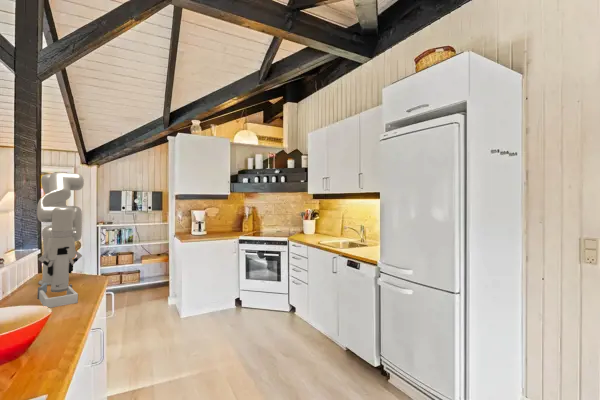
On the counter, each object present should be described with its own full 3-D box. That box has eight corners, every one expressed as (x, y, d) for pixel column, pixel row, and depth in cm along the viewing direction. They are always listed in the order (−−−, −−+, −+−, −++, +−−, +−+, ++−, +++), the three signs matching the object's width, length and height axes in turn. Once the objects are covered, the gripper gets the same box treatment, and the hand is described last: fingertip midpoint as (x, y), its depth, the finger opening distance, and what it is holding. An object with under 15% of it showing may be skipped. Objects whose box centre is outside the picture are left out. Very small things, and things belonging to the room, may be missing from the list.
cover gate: (36, 299, 140) (37, 288, 140) (43, 292, 149) (44, 281, 149) (40, 298, 140) (41, 287, 140) (47, 292, 150) (47, 281, 150)
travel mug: (59, 293, 133) (61, 247, 133) (46, 291, 134) (49, 246, 134) (72, 289, 139) (74, 246, 139) (60, 288, 140) (62, 245, 140)
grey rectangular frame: (38, 298, 141) (38, 288, 141) (71, 292, 150) (71, 284, 150) (45, 308, 128) (45, 298, 128) (80, 302, 138) (80, 292, 138)
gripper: (82, 232, 146) (81, 269, 145) (35, 234, 133) (33, 275, 133) (86, 234, 141) (85, 272, 140) (38, 236, 128) (36, 278, 128)
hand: (60, 273), depth 137 cm, fingers closed on travel mug, 6 cm apart
